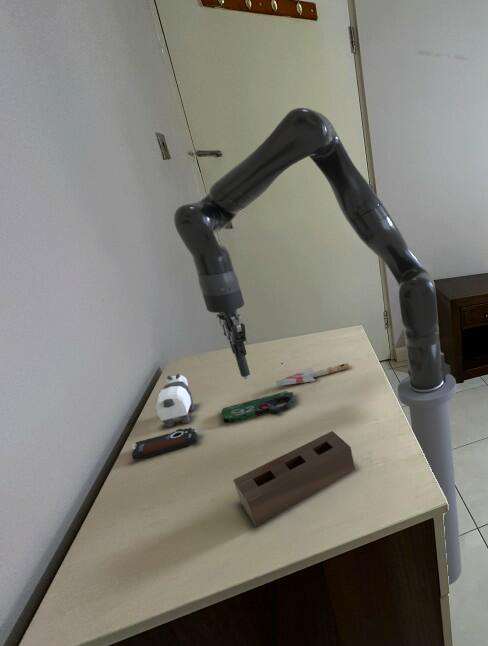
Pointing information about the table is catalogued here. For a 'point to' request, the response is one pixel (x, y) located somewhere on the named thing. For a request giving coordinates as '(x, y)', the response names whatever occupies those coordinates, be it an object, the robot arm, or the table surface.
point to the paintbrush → (310, 375)
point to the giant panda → (175, 401)
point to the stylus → (242, 365)
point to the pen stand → (293, 477)
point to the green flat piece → (258, 407)
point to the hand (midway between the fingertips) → (239, 354)
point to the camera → (164, 443)
